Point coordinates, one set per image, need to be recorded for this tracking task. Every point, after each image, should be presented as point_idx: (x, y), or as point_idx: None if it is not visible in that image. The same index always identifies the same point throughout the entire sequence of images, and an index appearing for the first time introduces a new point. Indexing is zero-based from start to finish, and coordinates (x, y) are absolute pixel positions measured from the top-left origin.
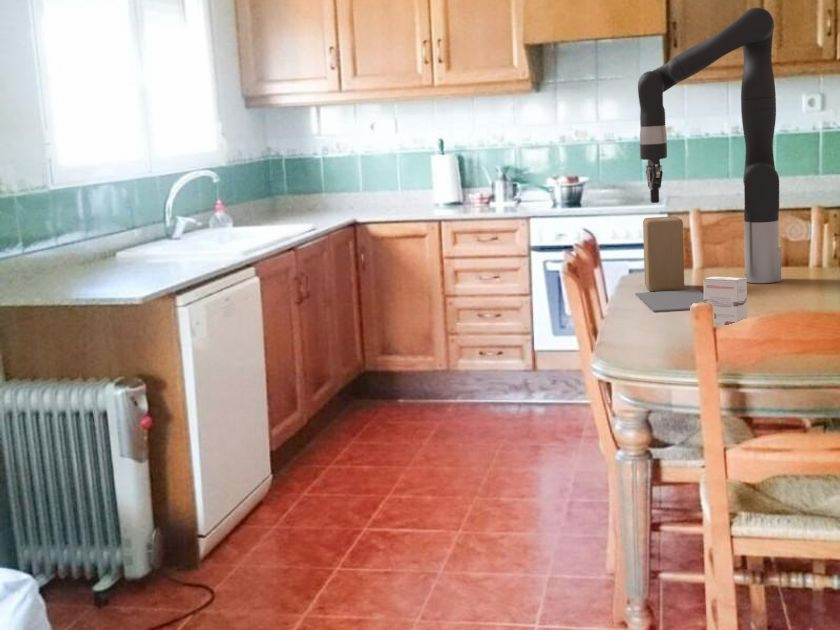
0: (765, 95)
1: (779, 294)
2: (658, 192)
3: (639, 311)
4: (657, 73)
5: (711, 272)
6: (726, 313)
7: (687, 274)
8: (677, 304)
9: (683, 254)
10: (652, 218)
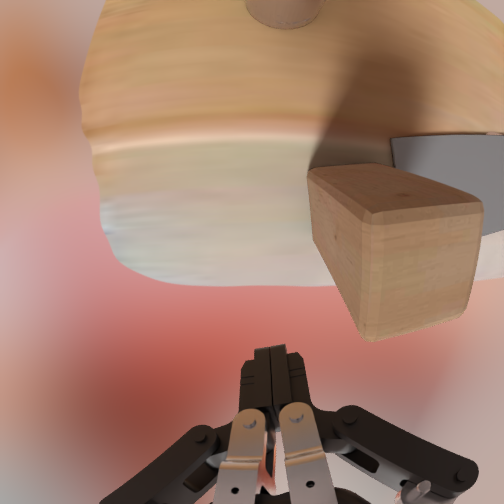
0: None
1: (430, 19)
2: (290, 389)
3: (499, 244)
4: None
5: (128, 105)
6: None
7: (148, 155)
8: (495, 193)
9: (412, 173)
10: (413, 313)
